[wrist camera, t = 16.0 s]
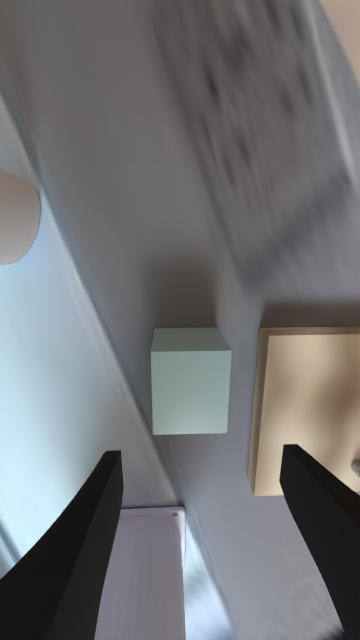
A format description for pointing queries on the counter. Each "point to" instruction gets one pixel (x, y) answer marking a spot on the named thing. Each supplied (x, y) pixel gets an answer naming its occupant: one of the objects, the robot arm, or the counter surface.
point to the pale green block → (190, 381)
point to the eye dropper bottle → (17, 217)
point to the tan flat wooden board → (305, 402)
